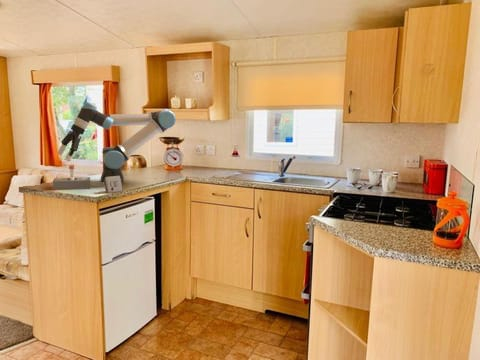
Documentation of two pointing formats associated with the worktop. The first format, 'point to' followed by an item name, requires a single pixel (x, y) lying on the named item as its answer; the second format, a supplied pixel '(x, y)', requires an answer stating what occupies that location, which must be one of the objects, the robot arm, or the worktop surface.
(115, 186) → the electrical switch
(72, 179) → the breaker lever
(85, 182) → the box
